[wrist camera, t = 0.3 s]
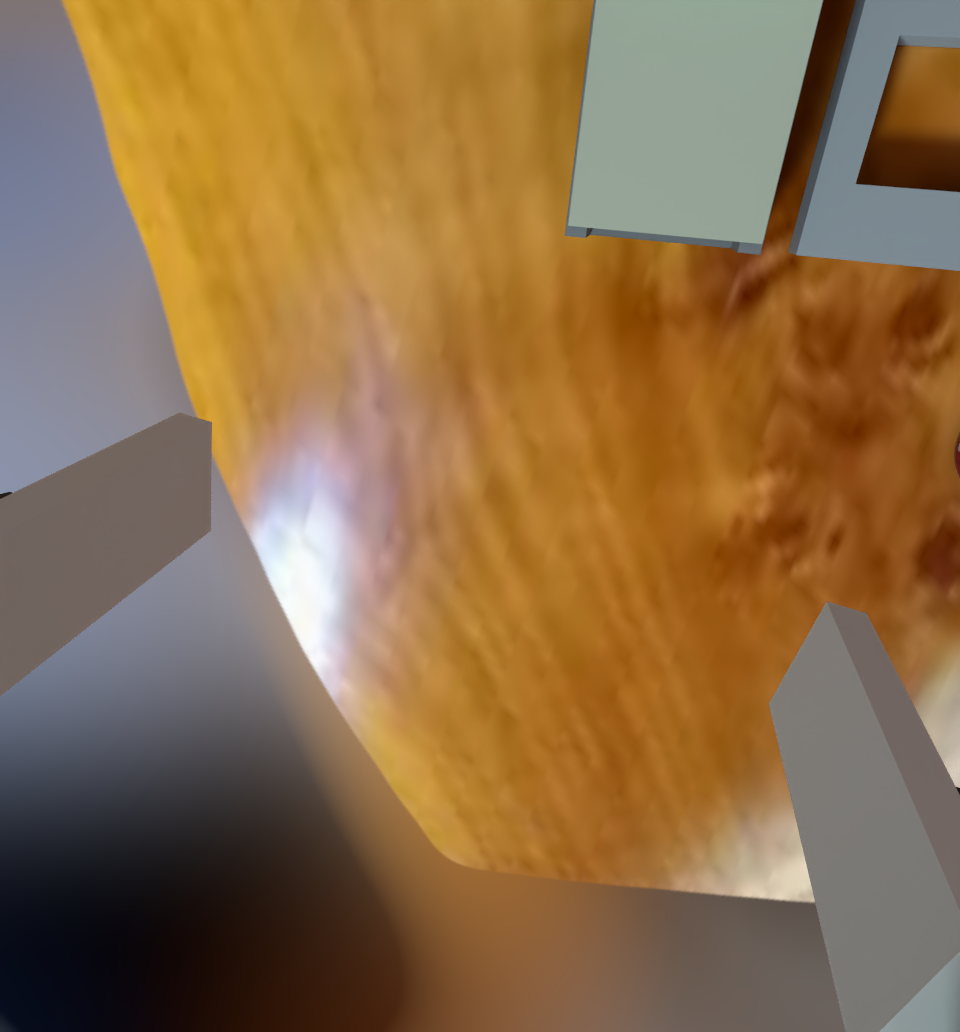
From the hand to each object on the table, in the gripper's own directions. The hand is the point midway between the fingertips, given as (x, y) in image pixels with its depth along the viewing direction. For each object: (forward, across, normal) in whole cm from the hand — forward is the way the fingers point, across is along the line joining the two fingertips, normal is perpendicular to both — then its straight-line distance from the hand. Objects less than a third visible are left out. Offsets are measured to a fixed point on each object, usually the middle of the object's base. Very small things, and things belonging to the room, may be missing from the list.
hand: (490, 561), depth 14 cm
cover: (+22, +1, +11) cm, 25 cm away
